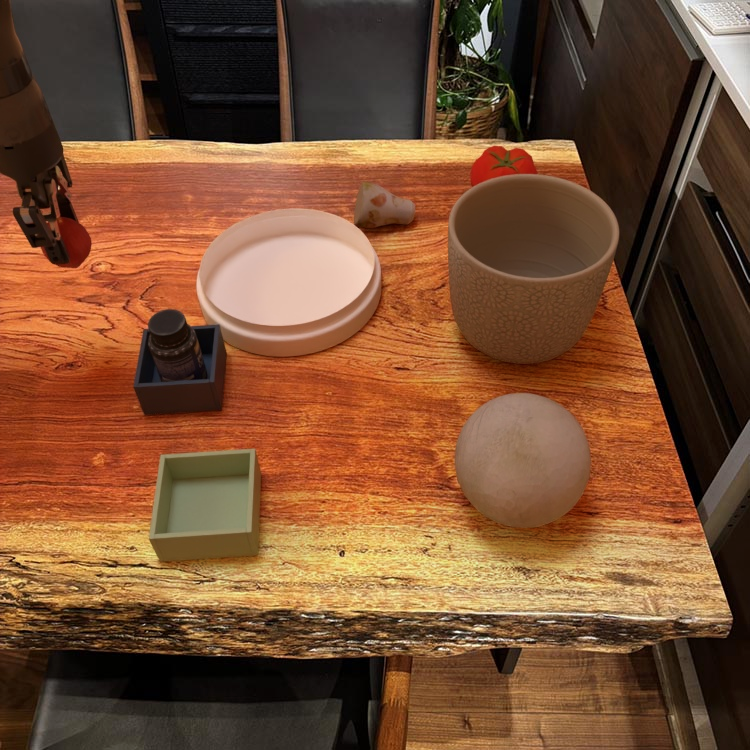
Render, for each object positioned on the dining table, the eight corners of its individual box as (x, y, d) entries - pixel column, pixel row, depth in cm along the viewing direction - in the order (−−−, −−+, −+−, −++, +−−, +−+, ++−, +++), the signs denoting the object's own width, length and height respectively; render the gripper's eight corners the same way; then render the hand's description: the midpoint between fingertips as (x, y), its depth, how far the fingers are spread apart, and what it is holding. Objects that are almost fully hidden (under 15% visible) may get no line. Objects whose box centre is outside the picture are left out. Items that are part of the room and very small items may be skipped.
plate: (207, 372, 110) (199, 345, 106) (195, 247, 127) (188, 219, 123) (399, 339, 113) (399, 311, 109) (362, 221, 130) (360, 193, 126)
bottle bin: (144, 415, 105) (132, 387, 101) (153, 357, 112) (143, 328, 107) (222, 410, 105) (214, 382, 101) (226, 353, 112) (219, 324, 108)
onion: (42, 271, 100) (18, 220, 94) (76, 245, 103) (55, 194, 97) (74, 288, 98) (51, 236, 92) (108, 261, 101) (89, 209, 95)
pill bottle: (215, 384, 107) (199, 326, 99) (173, 404, 105) (153, 347, 97) (196, 355, 111) (179, 298, 102) (155, 374, 109) (134, 317, 100)
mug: (421, 235, 128) (392, 199, 120) (368, 250, 132) (337, 217, 124) (422, 197, 131) (393, 160, 123) (370, 214, 135) (339, 179, 128)
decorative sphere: (456, 553, 91) (463, 480, 80) (447, 445, 101) (453, 366, 89) (589, 551, 91) (615, 477, 79) (568, 443, 100) (588, 363, 89)
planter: (438, 281, 120) (443, 175, 106) (578, 277, 120) (601, 170, 105) (448, 388, 107) (454, 283, 92) (605, 384, 106) (636, 278, 92)
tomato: (458, 202, 132) (460, 164, 127) (488, 168, 138) (491, 130, 133) (517, 223, 129) (522, 184, 123) (545, 187, 135) (551, 148, 129)
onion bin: (159, 562, 91) (148, 538, 87) (170, 479, 99) (160, 454, 95) (258, 555, 91) (251, 532, 87) (261, 473, 99) (255, 448, 95)
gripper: (-6, 88, 90) (46, 210, 102) (-40, 164, 80) (22, 287, 93) (62, 83, 90) (105, 206, 102) (36, 158, 80) (87, 282, 93)
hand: (66, 244), depth 98 cm, fingers closed on onion, 6 cm apart
